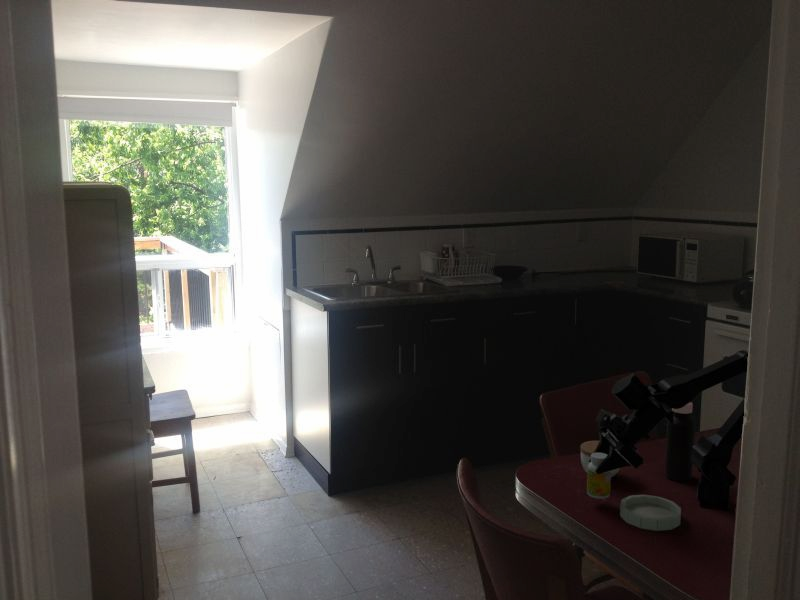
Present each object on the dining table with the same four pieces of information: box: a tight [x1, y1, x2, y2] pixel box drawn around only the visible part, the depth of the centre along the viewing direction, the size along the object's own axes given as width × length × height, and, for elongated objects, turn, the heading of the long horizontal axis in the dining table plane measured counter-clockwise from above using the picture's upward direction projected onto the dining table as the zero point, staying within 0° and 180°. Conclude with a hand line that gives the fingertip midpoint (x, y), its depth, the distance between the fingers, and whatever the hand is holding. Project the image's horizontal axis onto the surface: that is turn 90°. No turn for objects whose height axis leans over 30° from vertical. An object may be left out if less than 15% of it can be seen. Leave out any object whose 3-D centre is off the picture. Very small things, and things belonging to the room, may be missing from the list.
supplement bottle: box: [586, 453, 612, 500], centre depth 175 cm, size 5×5×10 cm
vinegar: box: [664, 401, 696, 482], centre depth 191 cm, size 7×7×20 cm
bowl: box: [619, 494, 682, 532], centre depth 169 cm, size 13×13×2 cm
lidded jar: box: [579, 440, 621, 479], centre depth 193 cm, size 11×11×9 cm
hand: (593, 467), depth 175 cm, fingers closed on supplement bottle, 5 cm apart
